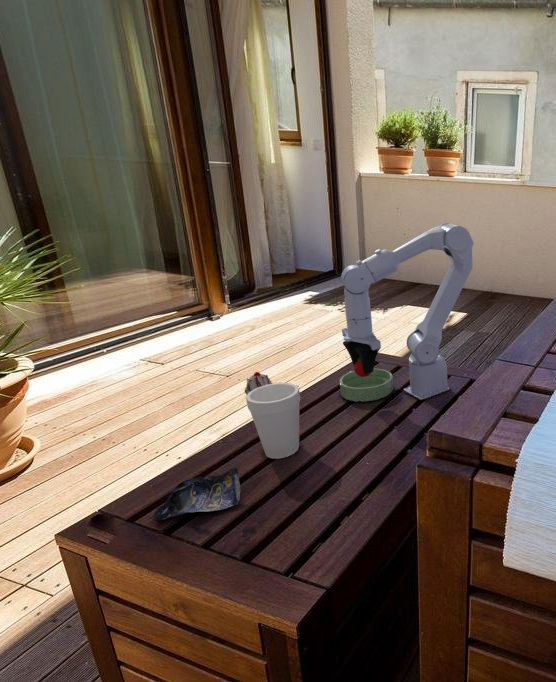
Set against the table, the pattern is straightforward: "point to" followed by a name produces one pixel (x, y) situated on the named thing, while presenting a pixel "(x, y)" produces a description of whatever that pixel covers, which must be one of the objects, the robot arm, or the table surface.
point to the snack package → (202, 495)
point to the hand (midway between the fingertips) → (363, 370)
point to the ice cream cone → (256, 382)
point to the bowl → (366, 385)
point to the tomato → (359, 369)
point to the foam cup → (276, 418)
